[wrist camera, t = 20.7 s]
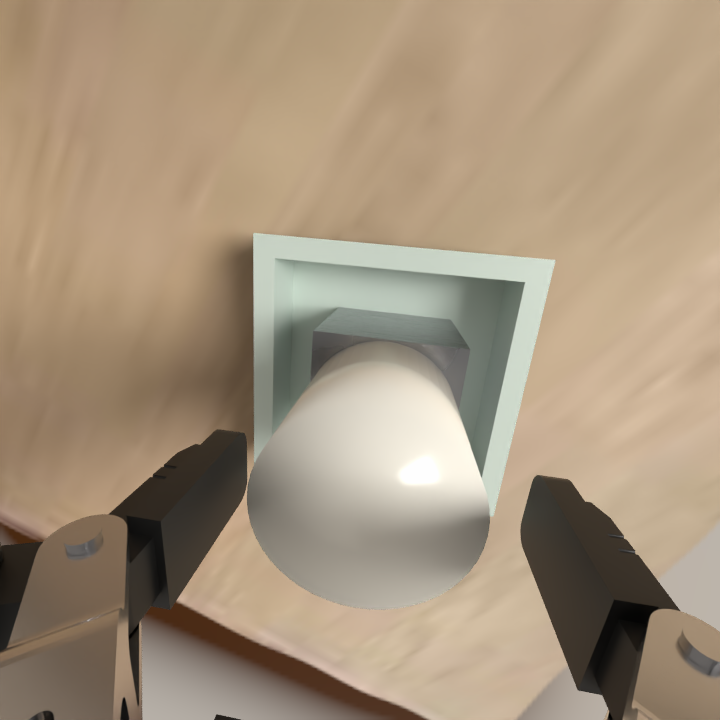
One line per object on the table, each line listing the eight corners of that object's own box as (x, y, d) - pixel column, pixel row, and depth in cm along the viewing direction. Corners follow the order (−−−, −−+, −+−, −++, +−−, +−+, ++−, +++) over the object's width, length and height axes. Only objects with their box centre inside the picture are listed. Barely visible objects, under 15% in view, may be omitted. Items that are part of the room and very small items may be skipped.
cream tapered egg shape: (467, 350, 13) (514, 424, 8) (442, 486, 15) (466, 627, 10) (310, 332, 14) (245, 390, 8) (304, 466, 16) (247, 588, 10)
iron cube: (450, 319, 19) (470, 349, 13) (433, 421, 21) (444, 485, 15) (339, 306, 20) (312, 330, 14) (331, 407, 21) (305, 464, 16)
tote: (524, 257, 19) (555, 259, 15) (478, 471, 23) (493, 516, 19) (282, 236, 20) (253, 233, 16) (278, 443, 24) (254, 480, 20)
